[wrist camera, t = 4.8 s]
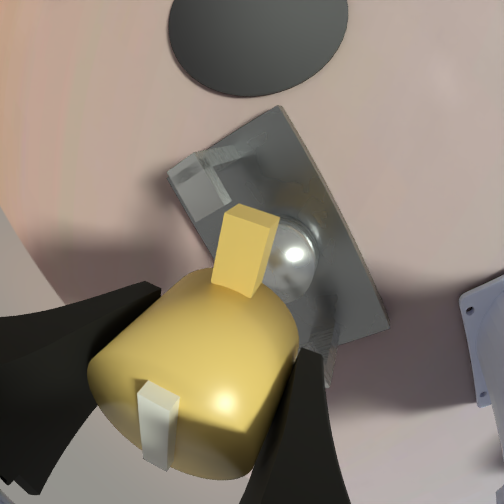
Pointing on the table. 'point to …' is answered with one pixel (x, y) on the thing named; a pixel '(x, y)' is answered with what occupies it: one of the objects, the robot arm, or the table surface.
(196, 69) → the mat
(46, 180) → the table surface
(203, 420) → the cap
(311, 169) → the grey plate with posts
